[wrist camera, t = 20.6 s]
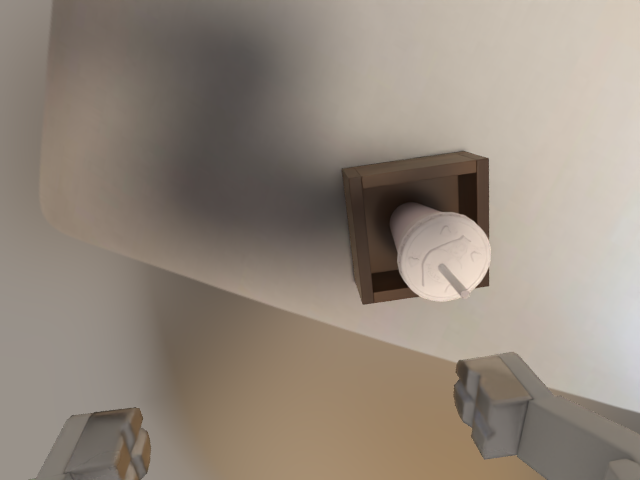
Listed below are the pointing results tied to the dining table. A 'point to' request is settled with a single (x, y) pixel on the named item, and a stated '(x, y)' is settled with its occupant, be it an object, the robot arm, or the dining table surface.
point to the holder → (396, 189)
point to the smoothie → (439, 251)
